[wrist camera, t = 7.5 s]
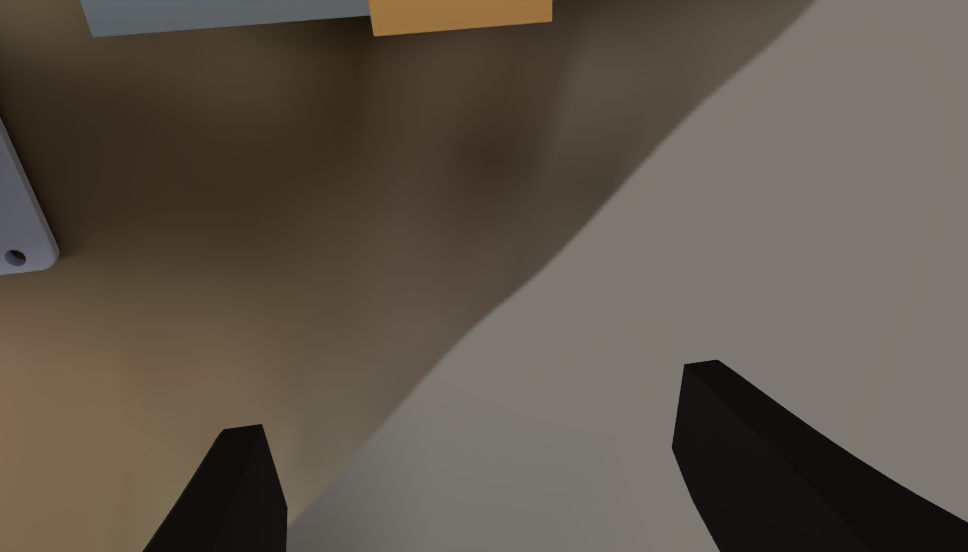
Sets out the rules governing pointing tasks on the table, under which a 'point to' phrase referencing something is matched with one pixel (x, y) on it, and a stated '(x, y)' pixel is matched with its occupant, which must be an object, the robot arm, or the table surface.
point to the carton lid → (308, 14)
